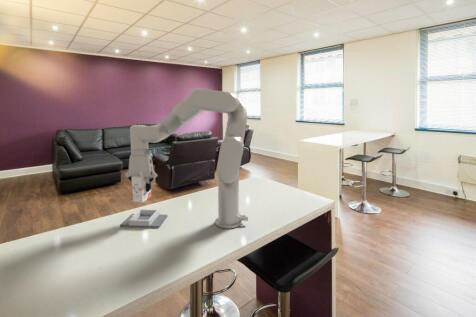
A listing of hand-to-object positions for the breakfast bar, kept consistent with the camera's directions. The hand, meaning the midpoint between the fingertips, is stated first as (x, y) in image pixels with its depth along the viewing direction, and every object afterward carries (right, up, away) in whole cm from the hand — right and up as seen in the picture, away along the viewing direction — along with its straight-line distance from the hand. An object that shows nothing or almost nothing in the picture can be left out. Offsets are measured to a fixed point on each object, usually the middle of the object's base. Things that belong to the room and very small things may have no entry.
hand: (141, 190), depth 127 cm
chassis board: (0, -15, +3) cm, 16 cm away
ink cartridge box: (0, -5, +1) cm, 5 cm away
